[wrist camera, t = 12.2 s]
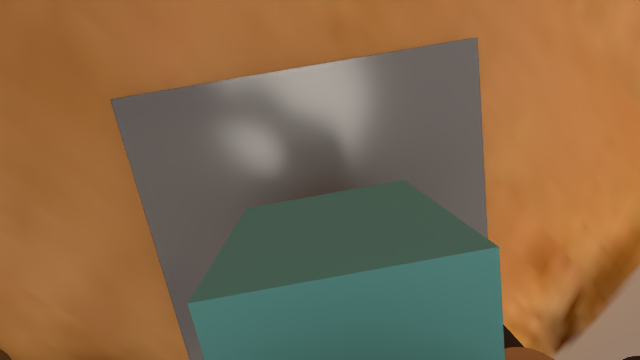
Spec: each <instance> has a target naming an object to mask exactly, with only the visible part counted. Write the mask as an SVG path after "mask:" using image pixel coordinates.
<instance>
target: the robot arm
mask: <svg viewBox="0 0 640 360" xmlns="http://www.w3.org/2000/svg"><path fill="white" fill-rule="evenodd" d="M503 333H504V351H505V360H554V359H553V358H551V357H550V356H548V355H546V354H544V353H541V352H539V351H536V350H533V349H529V348H524V346H523V345H522V344H521V343H520V342H519V341H518V340H517V339H516V338H515V337H514V336H513V334H512V333H511V332H510V331H509V330H508V329H507V328H506V327H505V326H504V325H503ZM623 360H640V356H632V357H628V358H625V359H623Z"/></svg>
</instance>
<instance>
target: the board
mask: <svg viewBox="0 0 640 360" xmlns="http://www.w3.org/2000/svg"><path fill="white" fill-rule="evenodd" d="M110 100H111V104H112V107H113V110H114V114H115V117H116V120H117V123H118V127H119V130H120V133H121V136H122V140H123V143H124V146H125V149H126V153H127V156H128V159H129V163H130V166H131V169H132V172H133V176H134V179H135V182H136V185H137V189H138V192H139V195H140V199H141V202H142V205H143V208H144V212H145V215H146V218H147V221H148V225H149V228H150V231H151V234H152V238H153V241H154V244H155V248H156V251H157V254H158V257H159V261H160V264H161V267H162V270H163V274H164V277H165V280H166V284H167V287H168V290H169V293H170V297H171V300H172V303H173V306H174V310H175V313H176V316H177V320H178V323H179V326H180V329H181V333H182V336H183V339H184V342H185V346H186V349H187V352H188V355H189V359H190V360H204V356H203V353H202V350H201V346H200V343H199V340H198V336H197V333H196V330H195V326H194V323H193V320H192V317H191V313H190V310H189V307H188V302H189V300H190V299H191V297H192V296H193V294H194V292H195V291H196V289H197V287H198V286H199V284H200V283H201V281H202V279H203V278H204V276H205V274H206V273H207V271H208V270H209V268H210V266H211V265H212V263H213V261H214V260H215V258H216V257H217V255H218V253H219V252H220V250H221V249H222V247H223V245H224V244H225V242H226V240H227V239H228V237H229V236H230V234H231V232H232V231H233V229H234V227H235V226H236V224H237V223H238V221H239V219H240V218H241V216H242V215H243V213H244V211H245V210H246V208H251V207H256V206H262V205H268V204H273V203H279V202H284V201H290V200H295V199H301V198H306V197H312V196H317V195H323V194H328V193H334V192H339V191H345V190H350V189H356V188H362V187H367V186H373V185H378V184H384V183H389V182H395V181H400V180H405V181H406V182H408V183H409V184H411V185H412V186H413V187H415V188H416V189H418V190H419V191H420V192H422V193H423V194H425V195H426V196H428V197H429V198H430V199H432V200H433V201H435V202H436V203H437V204H439V205H440V206H442V207H443V208H444V209H446V210H447V211H449V212H450V213H452V214H453V215H454V216H456V217H457V218H459V219H460V220H461V221H463V222H464V223H466V224H467V225H468V226H470V227H471V228H473V229H474V230H475V231H477V232H478V233H480V234H481V235H483V236H484V237H485V238H487V239H488V237H487V217H486V197H485V177H484V157H483V138H482V118H481V98H480V78H479V59H478V39H477V38H471V39H465V40H459V41H453V42H447V43H441V44H436V45H430V46H424V47H418V48H412V49H406V50H400V51H394V52H388V53H382V54H376V55H370V56H364V57H358V58H353V59H347V60H341V61H335V62H329V63H323V64H317V65H311V66H305V67H299V68H293V69H287V70H281V71H276V72H270V73H264V74H258V75H252V76H246V77H240V78H234V79H228V80H222V81H216V82H210V83H204V84H198V85H193V86H187V87H181V88H175V89H169V90H163V91H157V92H151V93H145V94H139V95H133V96H127V97H121V98H116V99H110Z"/></svg>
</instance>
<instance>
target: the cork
mask: <svg viewBox="0 0 640 360" xmlns="http://www.w3.org/2000/svg"><path fill="white" fill-rule="evenodd" d="M0 360H11V359H10V358H9V357H8V356H7V354H6V353H4V352H3V351H1V350H0Z"/></svg>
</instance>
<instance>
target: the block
mask: <svg viewBox="0 0 640 360" xmlns="http://www.w3.org/2000/svg"><path fill="white" fill-rule="evenodd" d="M188 307H189V310H190V313H191V317H192V320H193V323H194V326H195V330H196V333H197V336H198V340H199V343H200V346H201V350H202V353H203V356H204V360H505V351H504V333H503V315H502V297H501V279H500V260H499V247H498V246H497V245H495V244H494V243H492V242H491V241H490V240H488V239H487V238H485V237H484V236H483V235H481V234H480V233H478V232H477V231H475V230H474V229H473V228H471V227H470V226H468V225H467V224H466V223H464V222H463V221H461V220H460V219H459V218H457V217H456V216H454V215H453V214H452V213H450V212H449V211H447V210H446V209H444V208H443V207H442V206H440V205H439V204H437V203H436V202H435V201H433V200H432V199H430V198H429V197H428V196H426V195H425V194H423V193H422V192H420V191H419V190H418V189H416V188H415V187H413V186H412V185H411V184H409V183H408V182H406V181H405V180H400V181H395V182H389V183H384V184H378V185H373V186H367V187H362V188H356V189H350V190H345V191H339V192H334V193H328V194H323V195H317V196H312V197H306V198H301V199H295V200H290V201H284V202H279V203H273V204H268V205H262V206H256V207H251V208H246V210H245V211H244V213H243V215H242V216H241V218H240V219H239V221H238V223H237V224H236V226H235V227H234V229H233V231H232V232H231V234H230V236H229V237H228V239H227V240H226V242H225V244H224V245H223V247H222V249H221V250H220V252H219V253H218V255H217V257H216V258H215V260H214V261H213V263H212V265H211V266H210V268H209V270H208V271H207V273H206V274H205V276H204V278H203V279H202V281H201V283H200V284H199V286H198V287H197V289H196V291H195V292H194V294H193V296H192V297H191V299H190V300H189V302H188Z"/></svg>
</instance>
